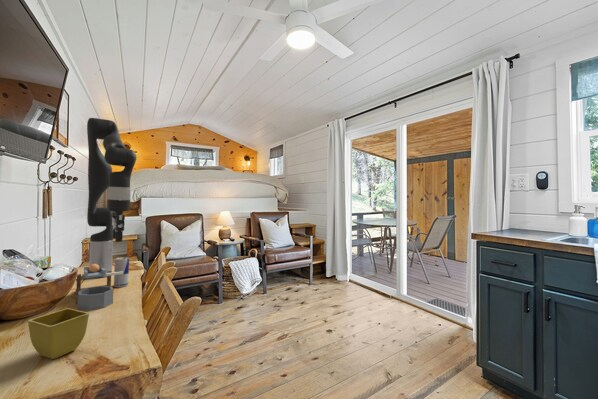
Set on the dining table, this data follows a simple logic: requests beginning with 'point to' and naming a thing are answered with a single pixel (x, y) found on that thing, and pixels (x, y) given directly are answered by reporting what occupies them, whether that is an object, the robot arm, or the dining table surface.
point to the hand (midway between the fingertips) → (117, 240)
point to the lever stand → (89, 287)
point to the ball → (94, 268)
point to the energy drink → (120, 265)
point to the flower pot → (58, 332)
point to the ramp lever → (97, 273)
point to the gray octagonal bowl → (95, 297)
